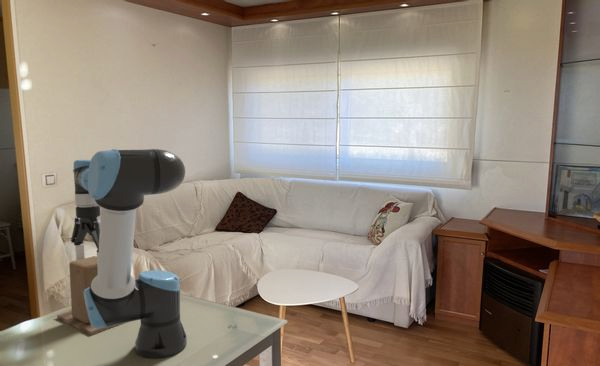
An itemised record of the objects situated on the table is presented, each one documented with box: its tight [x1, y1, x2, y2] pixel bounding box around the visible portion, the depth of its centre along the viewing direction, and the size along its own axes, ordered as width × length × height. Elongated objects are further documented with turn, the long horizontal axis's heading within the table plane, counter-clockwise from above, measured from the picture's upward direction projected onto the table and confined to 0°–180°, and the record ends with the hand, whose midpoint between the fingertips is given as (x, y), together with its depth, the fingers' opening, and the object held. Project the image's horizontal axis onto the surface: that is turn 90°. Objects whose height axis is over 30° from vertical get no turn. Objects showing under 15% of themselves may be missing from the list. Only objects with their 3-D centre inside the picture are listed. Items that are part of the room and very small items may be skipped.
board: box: [56, 309, 121, 336], centre depth 160 cm, size 22×14×1 cm, turn 54°
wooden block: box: [68, 255, 98, 323], centre depth 159 cm, size 10×10×20 cm
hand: (91, 266), depth 158 cm, fingers open, 13 cm apart
